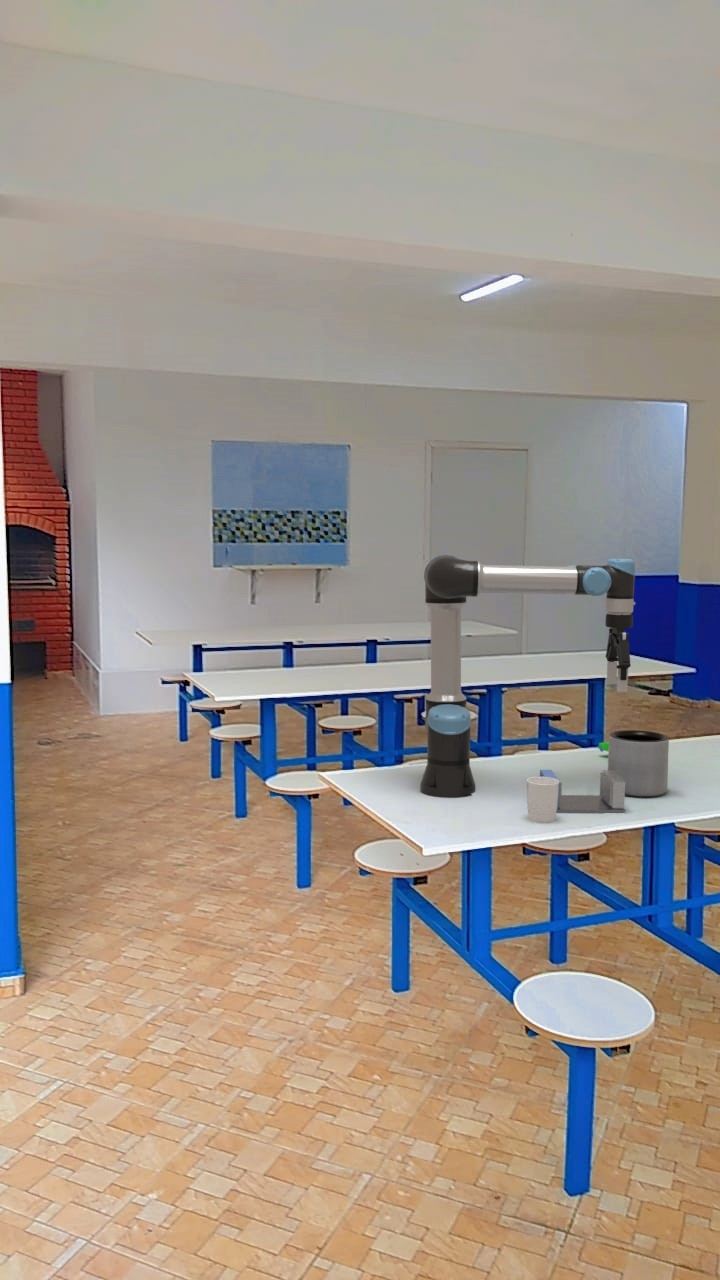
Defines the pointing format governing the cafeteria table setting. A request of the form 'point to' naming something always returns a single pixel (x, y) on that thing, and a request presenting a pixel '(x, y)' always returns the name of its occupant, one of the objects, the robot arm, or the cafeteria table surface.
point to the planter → (640, 761)
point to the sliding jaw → (552, 775)
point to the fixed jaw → (612, 789)
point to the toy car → (604, 746)
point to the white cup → (542, 799)
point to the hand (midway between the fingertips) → (616, 687)
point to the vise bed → (585, 805)
